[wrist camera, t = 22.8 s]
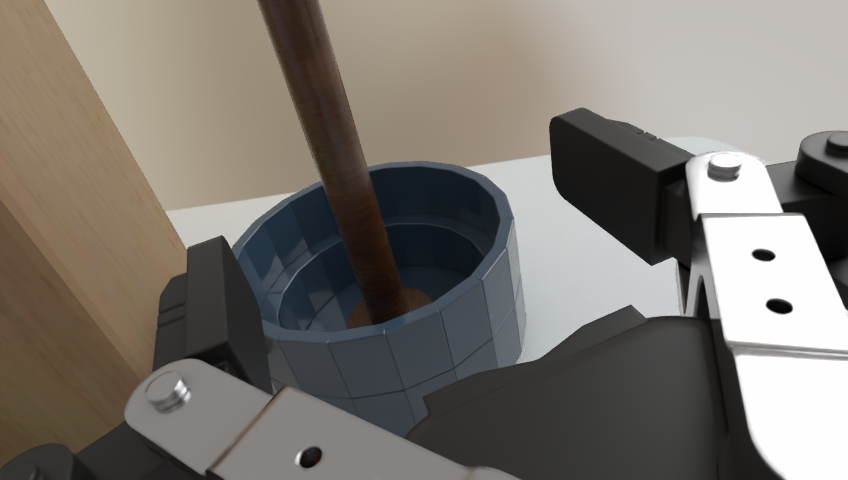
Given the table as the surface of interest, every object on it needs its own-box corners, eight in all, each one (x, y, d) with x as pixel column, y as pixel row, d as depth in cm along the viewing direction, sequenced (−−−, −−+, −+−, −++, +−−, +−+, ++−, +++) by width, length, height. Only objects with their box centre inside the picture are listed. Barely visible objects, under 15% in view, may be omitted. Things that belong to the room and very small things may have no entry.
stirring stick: (421, 289, 30) (323, -78, 19) (452, 342, 26) (352, -77, 16) (343, 320, 29) (198, -46, 19) (364, 379, 25) (197, -37, 15)
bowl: (462, 235, 34) (443, 137, 30) (580, 376, 24) (575, 254, 20) (264, 312, 32) (216, 217, 28) (298, 507, 21) (227, 398, 17)
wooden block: (67, 345, 33) (-214, 13, 22) (222, 305, 33) (24, -45, 22) (-18, 496, 25) (-539, 89, 14) (189, 441, 25) (-156, -5, 14)
